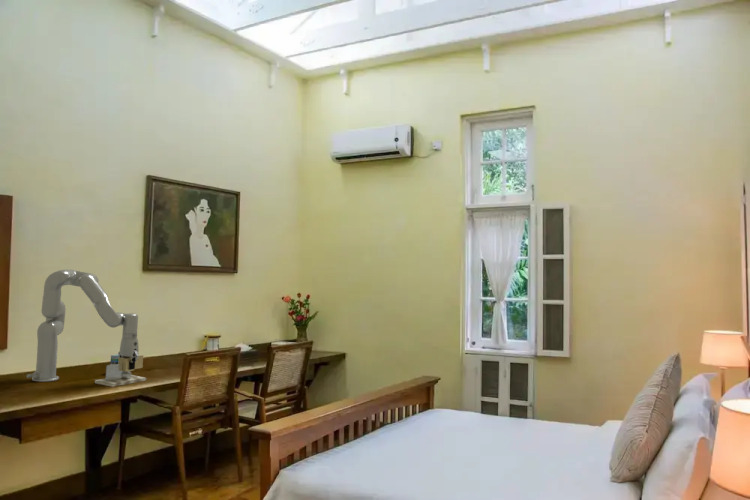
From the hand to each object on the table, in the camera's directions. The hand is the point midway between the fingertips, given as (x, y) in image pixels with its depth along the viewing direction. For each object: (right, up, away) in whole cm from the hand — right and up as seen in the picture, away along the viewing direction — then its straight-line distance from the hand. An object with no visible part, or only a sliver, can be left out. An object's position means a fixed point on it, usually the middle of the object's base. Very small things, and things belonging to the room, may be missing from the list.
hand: (127, 368), depth 328 cm
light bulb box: (-13, -7, +20) cm, 24 cm away
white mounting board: (-2, -7, -4) cm, 8 cm away
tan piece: (+1, -1, +3) cm, 3 cm away
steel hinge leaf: (-3, -5, -5) cm, 8 cm away
